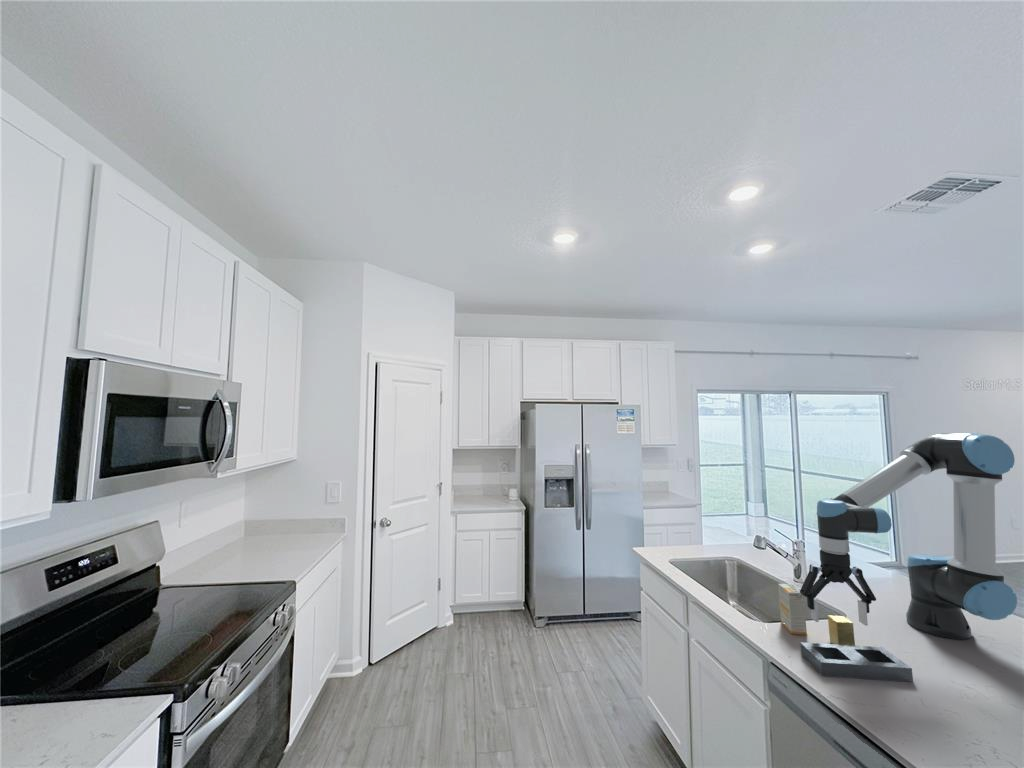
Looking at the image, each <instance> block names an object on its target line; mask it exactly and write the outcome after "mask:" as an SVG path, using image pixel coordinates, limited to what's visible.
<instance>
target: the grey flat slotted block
mask: <svg viewBox="0 0 1024 768" xmlns="http://www.w3.org/2000/svg"><path fill="white" fill-rule="evenodd" d="M799 645H800V655H801V656H802V658H804V659H805V661H807V662H808V664H810V665H811V667H812V668H813V669H815V670H816V672H818V674H819V675H820V676H821V677H833V678H846V679H847V678H848V679H860V680H877V681H888V682H889V681H892V682H903V683H905V682H906V683H914V677H913V676H914V675H913V668H912V667H911V666H909V664H907V663H905V662H904V661H902V660H901V659H900V658H898V657H897V656H896V655H894V654H893V653H892V652H890V651H889V650H887V649H886V648H884V647H883V646H866V645H865V646H864V645H855V646H853V645H836V644H832V643H819V642H818V643H814V642H802V641H801V642H800V643H799Z"/></svg>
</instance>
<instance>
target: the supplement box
mask: <svg viewBox="0 0 1024 768" xmlns="http://www.w3.org/2000/svg"><path fill="white" fill-rule="evenodd" d="M777 586H778V597H779V598H778V599H779V609H780V610H779V611H780V623H781V624H782V623H785V624H782V625H783V626H784V627H785V629H786V630H788V631H789V633H791V634H793V635H803V636H806V635H808V632H807V620H806V608H805V607H806V605H805V596H804V595H802V594H801V593H800V590H801V589H799V588H798V587H797V586H795V585H794V584H792V583H791V584H790V583H778V585H777Z"/></svg>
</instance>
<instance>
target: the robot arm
mask: <svg viewBox="0 0 1024 768" xmlns="http://www.w3.org/2000/svg"><path fill="white" fill-rule="evenodd" d="M1014 465H1015V455H1014V453H1013V450H1012V448H1011V447H1010V445H1009V444H1007V443H1006V442H1004V440H1003V439H1001V438H1000V437H997V436H995V435H991V434H979V433H947V432H946V433H942V432H941V433H937V434H932V435H930V436H927V437H924V438H922V439H920V440H918V441H916V442H914V443H913V444H911V445H909V446H908V447H906V448H904V449H903V450H902V451H900V453H899V456H898V457H896V458H895V459H894V460H892V461H890V462H889V463H888V464H886V465H884V466H883V467H881V468H880V469H878V470H877V471H875V472H874V473H872V474H871V475H869V476H868V477H866V478H864V479H862V480H861V481H859V482H858V483H856V484H855V485H853V486H852V487H850V488H848V489H847V490H845V491H844V492H842V493H841V494H839V495H838V496H836V497H834V498H831V497H830V498H823V499H820V500H818V501H817V502H816V516H817V517H816V518H817V527H818V528H817V530H818V531H817V532H818V545H819V548H820V549H819V561H820V566H818V565H817V566H816V565H814V564H813V563H812V564H809V568H808V569H809V570H808V572H807V575H806V577H805V580H804V581H803V583H802V585H801V587H800V589H799V590H800V593H801V594H802V595H804V598H806V602H807V604H806V605H807V607H808V609H810V618H811V620H813V621H814V622H815V623H819V622H820V620H819V608H818V607H819V603H818V599H817V598H816V597H817V596H819V594H820V593H821V592H822V590H823V589H824V588H825V587H826V586H827V585H828V584H830V583H840V584H844V583H846V585H848V587H849V588H850V589H851V590H852V591H853V592H854V594H855V595H857V597H859V598H860V599H859V598H858V599H857V608H858V610H857V611H858V622H860V623H861V624H862V625H864V626H866V627H867V626H869V624H868V614H870V605H871V604H872V603H873V602H875V601H877V598H876V596H875V594H874V592H873V591H872V589H871V587H870V585H869V584H868V582H867V581H866V579H865V577H864V573H863V570H862V569H860V568H859V567H857V566H853V567H851V557H850V554H849V552H850V551H851V550H850V542H849V533H864V534H884V533H888V532H890V531H891V529H892V518H891V516H890V515H889V513H888V512H887V511H886V510H884V509H882V508H881V507H880V508H879V507H877V508H876V507H872V506H873V505H875V504H876V503H878V502H880V501H881V500H883V499H884V498H886V497H888V496H889V495H891V494H893V493H894V492H895V491H897V490H899V489H900V488H902V487H903V486H905V485H907V484H908V483H909V482H912V481H913V480H915V478H918V477H920V476H921V475H929V474H931V473H932V472H934V471H937V470H943V469H946V476H947V477H949V478H950V479H951V481H952V482H953V483H952V485H953V558H951V557H948V556H946V557H945V556H939V555H930V554H929V555H928V554H912V555H910V556H908V557H907V565H906V566H907V570H908V572H907V573H908V580H909V587H910V598H911V599H910V602H909V606H908V609H907V612H906V613H905V616H906V622H907V623H908V625H910V626H912V628H915V629H917V630H919V631H922V632H924V633H927V634H931V635H933V636H937V637H942V638H944V639H945V638H947V639H952V640H968V639H971V638H972V637H973V634H972V629H971V626H970V624H969V622H968V620H967V619H966V616H965V614H964V612H963V611H966V612H968V613H969V614H970V615H973V616H976V617H977V616H978V617H980V618H983V619H986V620H990V621H1000V620H1004V619H1006V618H1007V617H1008V616H1011V615H1013V613H1014V612H1015V611H1016V609H1017V606H1018V597H1017V594H1016V592H1015V591H1014V590H1013V588H1012V587H1011V586H1010V585H1008V584H1007V583H1005V574H1004V573H1003V572H1002V571H1001V570H1000V569H999V568H998V567H997V561H996V560H997V557H996V555H997V553H996V544H997V543H996V495H995V494H996V493H995V492H996V490H995V487H996V485H998V484H999V483H1000V482H1002V481H1003V475H1004V474H1006V473H1008V472H1009V471H1011V469H1012V468H1013V467H1014ZM820 572H821V574H820ZM818 574H820V575H819V576H818ZM851 575H853V576H854V578H855V579H856V581H857V583H858V584H859V586H860V588H861V589H860V588H859V587H858V586H857V584H855V582H854V581H853V580H852V579H851V577H850V576H851ZM817 578H818V579H817Z"/></svg>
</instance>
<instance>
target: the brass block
mask: <svg viewBox="0 0 1024 768" xmlns="http://www.w3.org/2000/svg"><path fill="white" fill-rule="evenodd" d="M827 618H828V619H827V621H828V633H829V642H830V644H836V645H853V646H856V641H855V631H854V623H853V621H851V620H850V619H849V618H847V617H845V616H844V615H829V614H828V615H827Z"/></svg>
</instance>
